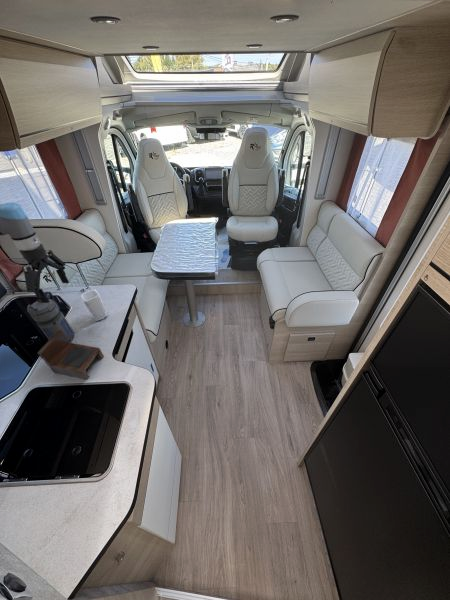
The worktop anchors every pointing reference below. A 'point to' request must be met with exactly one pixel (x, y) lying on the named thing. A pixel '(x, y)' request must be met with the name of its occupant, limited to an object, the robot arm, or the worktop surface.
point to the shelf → (68, 356)
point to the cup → (94, 304)
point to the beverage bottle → (50, 317)
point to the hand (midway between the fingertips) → (56, 292)
